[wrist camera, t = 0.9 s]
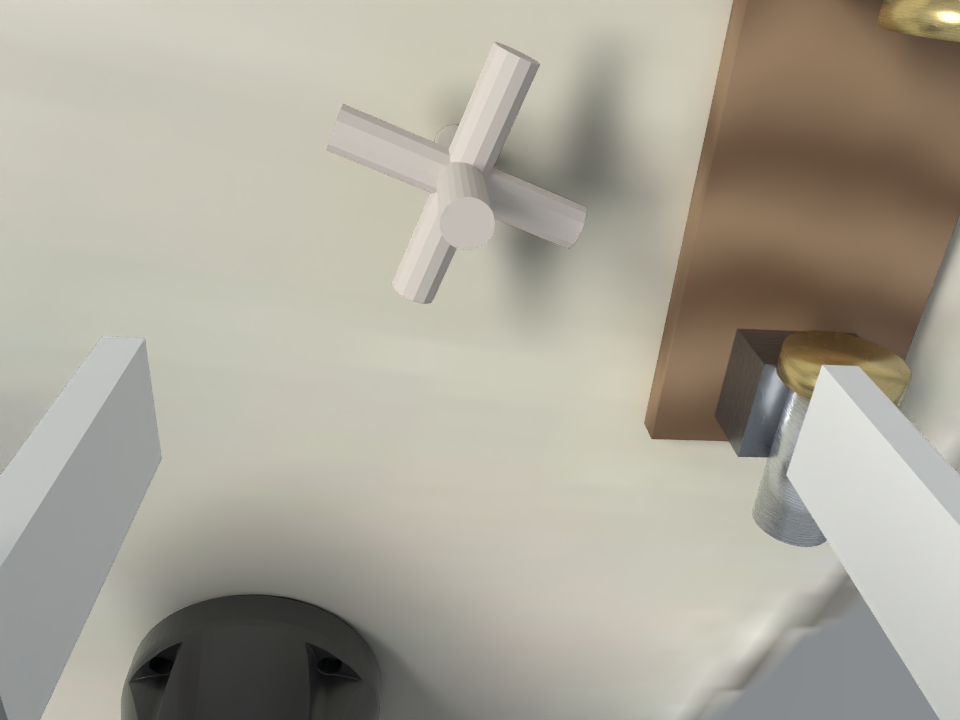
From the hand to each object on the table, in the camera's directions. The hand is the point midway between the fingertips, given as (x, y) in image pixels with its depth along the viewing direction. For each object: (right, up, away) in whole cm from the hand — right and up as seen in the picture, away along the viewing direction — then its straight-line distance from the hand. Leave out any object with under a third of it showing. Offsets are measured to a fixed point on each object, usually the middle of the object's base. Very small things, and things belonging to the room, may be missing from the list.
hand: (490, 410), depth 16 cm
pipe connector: (-1, +10, +20) cm, 22 cm away
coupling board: (+16, +10, +21) cm, 28 cm away
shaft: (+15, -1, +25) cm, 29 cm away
